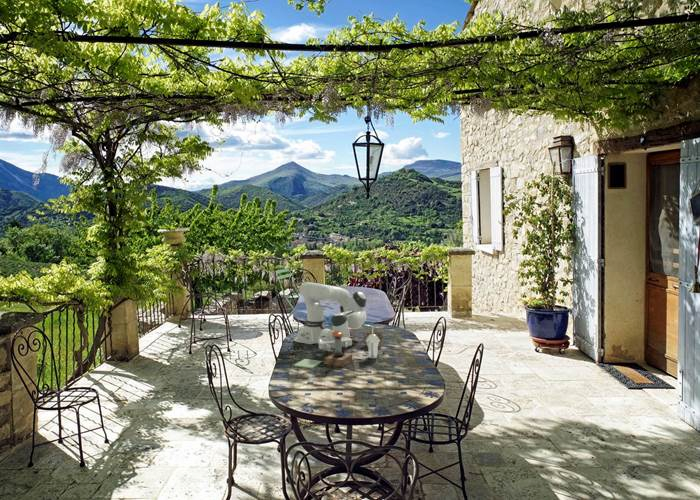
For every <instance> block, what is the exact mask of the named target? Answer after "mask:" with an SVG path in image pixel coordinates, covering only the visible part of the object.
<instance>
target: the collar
mask: <svg viewBox="0 0 700 500" xmlns="http://www.w3.org/2000/svg"><path fill="white" fill-rule="evenodd" d="M323 362H324V364H328V365H327V366H331V365H335V366H334V367H339V366H344V367H346V366H347V365H349V364H351V362H353V354H352V353H343V352H342V357H341V358H337V357H335V351H333V352H332V353H330V354H328V355H326V356H325V357H324V358H323ZM345 365H346V366H345Z"/></svg>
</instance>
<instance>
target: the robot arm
mask: <svg viewBox="0 0 700 500" xmlns="http://www.w3.org/2000/svg"><path fill="white" fill-rule="evenodd" d="M298 292H299V294H300V296H301V297H302V299H303V302H304V304H305V307H306V315H307V319H306V320H305V321H303V323H304V326H303V327H301V328H300V329H299V330H298V331H297V334H296V337H295V338H294V339H293V341H294V342H297V343H302V344H307V345H313V344H318V349H319V350H327V349H329V350H332V349H335V342H334V337H333V336H332V333H333V332H343V336H342V337H341V343H342V348H343V347H344V348H348V347H349V346H350V347H351V346H352V345H353V340H352V339H351V338H350V337H351V334H350V330H351V329H352V330H357V329H359V328H361V327H362V326H364V324H365V322H366V319H367V315H368V314H367V312H366V311H365V310H364V307H366V306H367V304H366V303H367V296H366V295H365V294H364V292H362V291H359V290H357V291H355V292H354V293H352V295H351V294H350V292H349V290H347V289H346V288H343V287H339V286H334V285H329V284H324V283H317V282H311V281H308V282H303V283H301V284H300V285H299V289H298ZM350 295H351V296H350ZM321 302H327V303H334V304H339V310H340V311H339V313H335V314H333V315H331V318H330V323H331V326H332V330H331V329H330V328H326V320H325V314H324V313H325V311H324V307H323V305H322V304H321Z"/></svg>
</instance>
